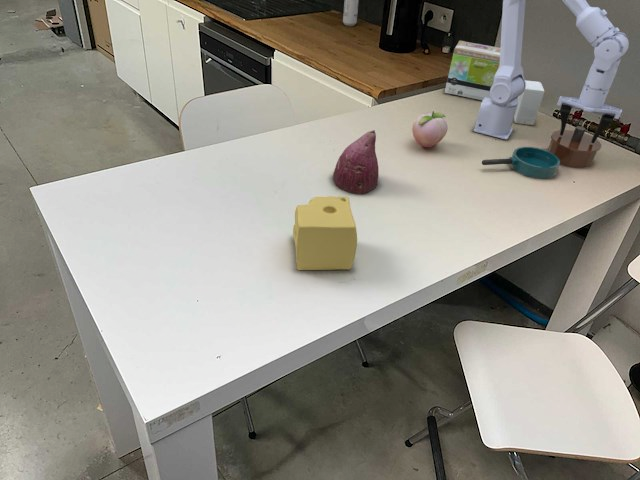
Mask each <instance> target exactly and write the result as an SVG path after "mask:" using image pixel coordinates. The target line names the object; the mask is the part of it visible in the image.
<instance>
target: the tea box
mask: <svg viewBox="0 0 640 480" xmlns="http://www.w3.org/2000/svg"><path fill="white" fill-rule="evenodd" d="M499 63H500V47H498V46H491V45H487V44H482V43H475V42H471V41H470V42H469V41H465V40H458V43H457V44H456V46H455V48H454V49H453V53H452V57H451V62H450V66H449V71H448V75H447V78H446V82H445V83H446V84H445V87H444V88H445V89H444V94H448V95H455V96H460V97H464V98H468V99H472V100H477V101H481V102H482V101H483V99H484V98H485V97H487V98H491V97H490V89H491V87H492V85H493V83H494V76H495V74H496V72H497V70H498V68H499Z"/></svg>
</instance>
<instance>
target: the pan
mask: <svg viewBox="0 0 640 480" xmlns="http://www.w3.org/2000/svg"><path fill="white" fill-rule="evenodd" d="M511 157H515V158H516V159H517V160H518V163H517V165H512V164H510V167H511V168H512V170H514V171H515V172H517V173H518V174H521V175H523V176H525V177H527V178H528V177H529V178H533V179H538V180H539V179H541V180H544V179H545V180H546V179H552V178H554V177H555V176H556V174H557V172H558V171H559V170H558V169H559V167H560V165H561V164H560V160H559V158H558V157H557V156H556V155H555V154H553V153H551V152H549V151H548V149H547V150H546V149H544V148H539V147H535V146H520V147H517V148H515V149H513V152H512V156H511Z"/></svg>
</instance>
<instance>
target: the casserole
mask: <svg viewBox="0 0 640 480" xmlns="http://www.w3.org/2000/svg"><path fill="white" fill-rule="evenodd" d="M547 151H549V152H551V153H553V154H555V155H556V156H557V157H558V158H559V160H560V164H559V165H562V166H565V167H569V168H573V169H585V168H586V169H587V168H588V167H590V166H592V165H593V162H594V161H595V157H596V155H597V153H598V151H596V152H592V153H583V152H576V151H572V150H569V149H566V148H563V147H561V146H559V145H558V144H556V143H555V142H554V141H553V140H552V139H551V140H550V142H549V145H548V148H547Z"/></svg>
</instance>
